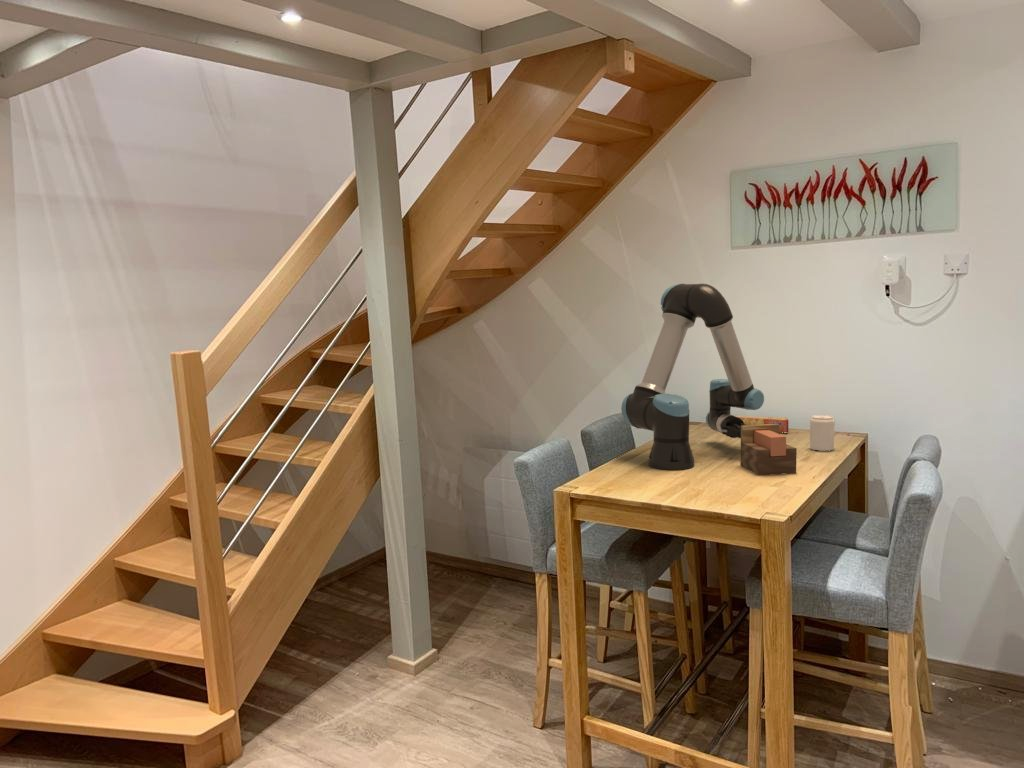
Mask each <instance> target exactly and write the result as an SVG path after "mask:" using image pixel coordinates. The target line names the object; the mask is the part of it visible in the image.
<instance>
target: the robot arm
mask: <svg viewBox="0 0 1024 768" xmlns="http://www.w3.org/2000/svg"><path fill="white" fill-rule="evenodd" d="M660 298H661V299H660V305H661V307H660V308H661V311H662V314H661V317H662V318H663V321H664V322H663V324H662V327H661V329H660V332H659V334H658V337H657V339H656V342H655V345H654V347H653V351H652V354H651V356H650V359H649V362H648V365H647V367H646V368H645V369H646V370H645V372H644V376H643V378H642V381H641V382H640V383H639V384H636V385H635V387H634V390H633V392H632V393H628V394H627V395H626V396H625V397H624V398H623V400H622V403H621V406H620V407H621V411H620V412H621V415H622V418H623V421H624V422H625V423H626V424H628V425H629V426H631V427H634V428H636V429H643V430H647V431H651V432H653V442H652V447H651V450H650V453H649V456H648V466H649V467H651V468H653V469H658V470H666V471H667V470H669V471H678V470H680V471H681V470H686V469H687V470H688V469H690V468H693V467H694V466H695V457H694V455H693V450H692V447H691V445H690V405H689V401H688V399H687V398H685V396H682V395H677V394H670V393H666V389H667V386H668V384H669V381H670V378H671V375H672V373H673V370H674V368H675V367H674V366H675V365H676V362H677V359H678V357H679V353H680V350H681V348H682V346H683V343H684V339H685V338H686V334H687V331H688V330H689V329H691V328H692V327H694V326H695V323H696V320H697V318H699V319H702V321H703V322H704V325H705V327H706V328H708V329H709V331H710V332H711V336H712V338H713V342H714V344H715V347H716V350H717V353H718V355H719V358H720V361H721V364H722V366H723V369H724V371H725V374H726V378H716V379H715V378H714V379H712V380H710V382H709V391H708V392H709V411H708V412H707V414H706V416H705V423H706V424H707V426H708V427H709V428H710V429H711V430H712V431H715V432H719V433H720V434H722V435H725V436H726V437H729V438H732V439H736V438H738V439H741V426H744V425H745V424H744V422H743V421H742V420H741V419H740V418H738V417H735V415H734V414H731V408H735V409H736V408H737V409H738V408H739V409H741V410H742V409H743V410H745V411H747V410H748V411H757V410H759V409H760V408H762V406H763V405H764V402H765V394H764V393H763V392H762V390H761V389H758V388H755V386H754V384H753V381H752V378H751V375H750V372H749V369H748V367H747V364H746V360H745V357H744V355H743V354H744V353H743V351H742V349H741V346H740V343H739V340H738V337H737V334H736V332H735V328H734V325H733V323H732V321H733V318H734V316H733V312H732V310H731V308H730V305H729V303H728V301H727V300H726V299H725V297H724V296H723V295H722V293H721V292H720V291H719V290H718V289H717V288H715V286H712V285H710V284H707V283H678V284H673V285H671V286H669V287H667V288H666V289H665V290H664V292H663V294H662V295H661V297H660Z"/></svg>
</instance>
